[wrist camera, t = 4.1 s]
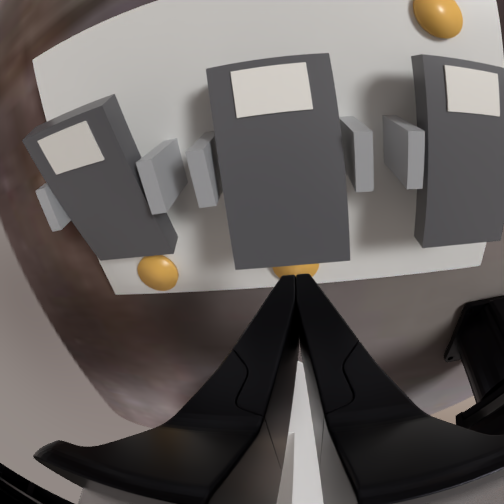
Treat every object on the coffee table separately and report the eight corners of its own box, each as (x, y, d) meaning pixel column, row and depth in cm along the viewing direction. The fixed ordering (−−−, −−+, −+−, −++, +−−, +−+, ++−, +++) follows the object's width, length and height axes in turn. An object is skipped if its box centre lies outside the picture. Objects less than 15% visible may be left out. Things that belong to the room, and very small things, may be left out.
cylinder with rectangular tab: (268, 340, 21) (254, 512, 11) (345, 386, 24) (353, 519, 14) (197, 383, 26) (169, 510, 16) (271, 418, 28) (263, 527, 18)
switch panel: (465, 245, 16) (501, 299, 12) (128, 273, 19) (96, 328, 15) (473, 2, 8) (534, -4, 4) (56, 56, 11) (-9, 68, 7)
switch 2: (345, 250, 11) (350, 261, 10) (240, 259, 12) (235, 270, 11) (325, 60, 9) (329, 52, 8) (213, 74, 10) (205, 68, 9)
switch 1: (178, 236, 14) (173, 255, 13) (106, 245, 14) (99, 261, 14) (114, 93, 9) (101, 106, 8) (35, 127, 9) (21, 141, 9)
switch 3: (489, 229, 11) (501, 241, 10) (413, 236, 11) (422, 249, 10) (496, 68, 7) (511, 69, 6) (411, 56, 8) (423, 54, 7)
